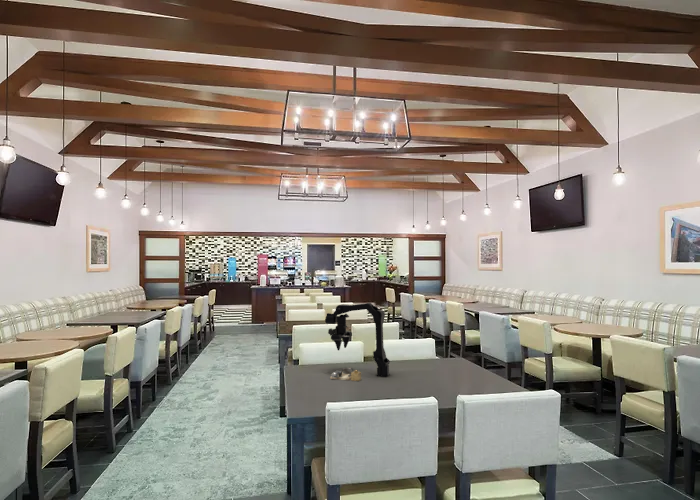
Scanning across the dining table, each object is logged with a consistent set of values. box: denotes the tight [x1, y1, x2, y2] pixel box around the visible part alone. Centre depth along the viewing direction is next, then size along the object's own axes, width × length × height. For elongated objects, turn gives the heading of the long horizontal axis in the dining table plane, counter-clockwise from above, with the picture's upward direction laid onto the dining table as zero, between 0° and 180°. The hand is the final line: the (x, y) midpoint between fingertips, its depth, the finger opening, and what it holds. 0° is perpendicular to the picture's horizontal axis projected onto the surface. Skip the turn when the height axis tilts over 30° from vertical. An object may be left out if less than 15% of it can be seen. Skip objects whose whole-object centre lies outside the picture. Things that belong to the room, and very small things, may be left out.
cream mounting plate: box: [329, 366, 353, 381], centre depth 260 cm, size 12×16×4 cm
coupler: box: [350, 369, 362, 382], centre depth 251 cm, size 4×4×6 cm
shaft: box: [330, 370, 343, 378], centre depth 255 cm, size 6×5×3 cm
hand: (341, 349), depth 272 cm, fingers open, 9 cm apart
